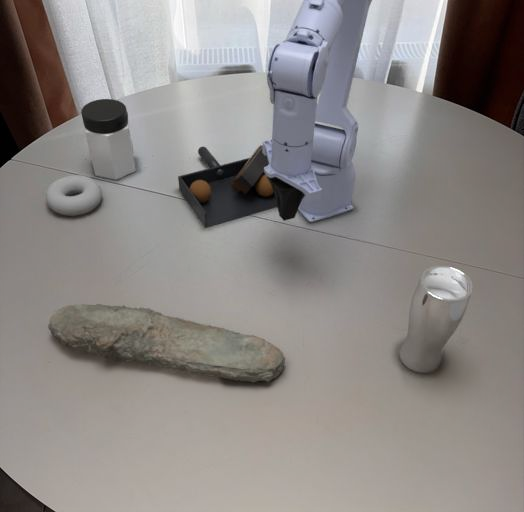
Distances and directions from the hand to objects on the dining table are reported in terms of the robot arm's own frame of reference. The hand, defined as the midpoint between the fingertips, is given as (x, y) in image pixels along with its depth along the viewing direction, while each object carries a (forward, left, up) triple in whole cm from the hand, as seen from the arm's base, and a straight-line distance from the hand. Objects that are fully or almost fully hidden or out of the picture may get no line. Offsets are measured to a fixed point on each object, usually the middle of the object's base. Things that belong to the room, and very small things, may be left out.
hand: (287, 216), depth 90 cm
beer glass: (-8, +27, -10) cm, 30 cm away
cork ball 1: (+6, -22, -7) cm, 24 cm away
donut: (+27, -31, -10) cm, 42 cm away
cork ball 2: (-6, -18, -7) cm, 21 cm away
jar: (+17, -39, -10) cm, 44 cm away
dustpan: (0, -25, -10) cm, 27 cm away
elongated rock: (+25, +9, -10) cm, 28 cm away
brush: (-5, -20, -3) cm, 21 cm away
